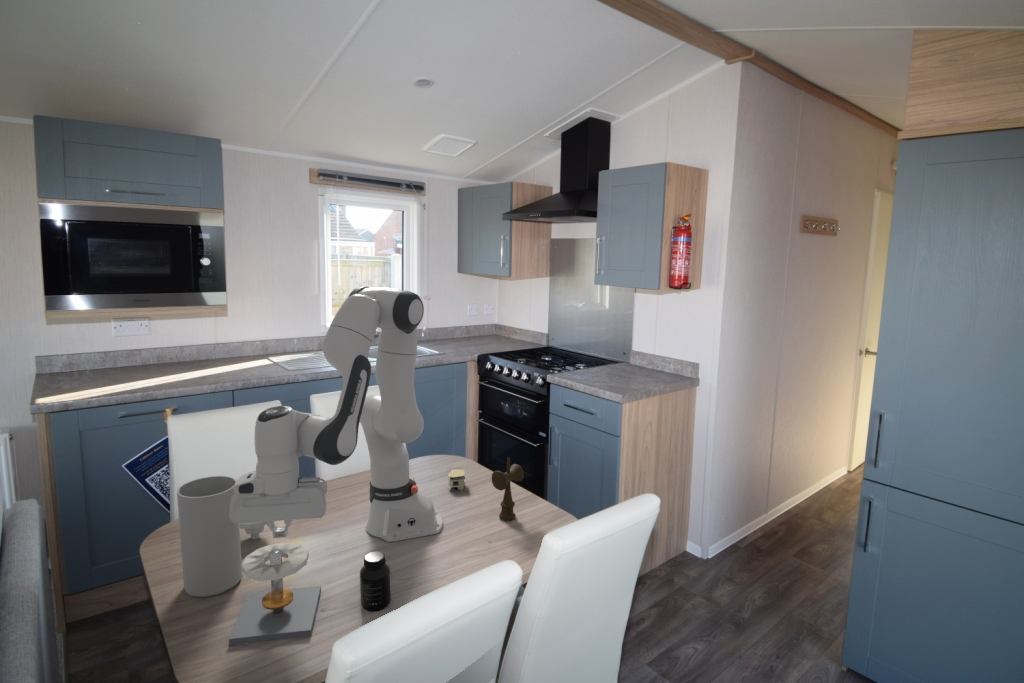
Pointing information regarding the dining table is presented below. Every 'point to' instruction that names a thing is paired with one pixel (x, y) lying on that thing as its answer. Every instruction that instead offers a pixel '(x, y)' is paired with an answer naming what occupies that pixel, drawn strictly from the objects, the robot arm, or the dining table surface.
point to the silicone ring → (262, 572)
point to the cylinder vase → (208, 536)
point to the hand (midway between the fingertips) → (280, 536)
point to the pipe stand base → (276, 618)
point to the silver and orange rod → (277, 589)
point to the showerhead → (253, 528)
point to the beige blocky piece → (457, 479)
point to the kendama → (507, 488)
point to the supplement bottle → (375, 582)
